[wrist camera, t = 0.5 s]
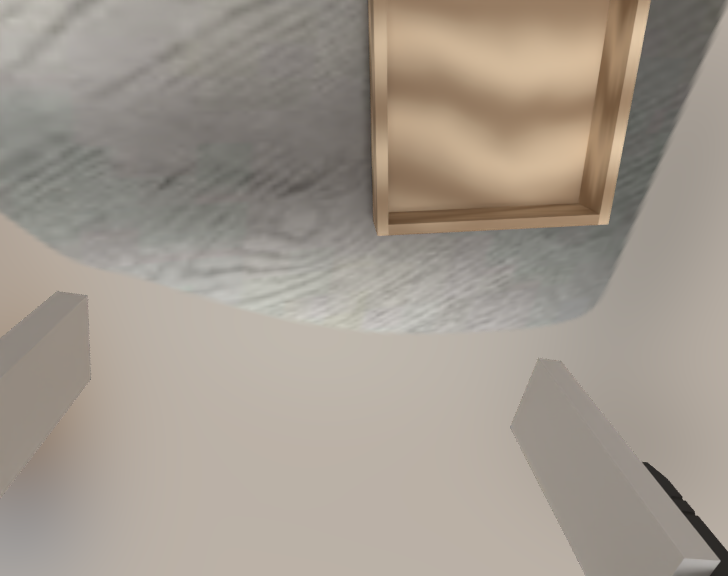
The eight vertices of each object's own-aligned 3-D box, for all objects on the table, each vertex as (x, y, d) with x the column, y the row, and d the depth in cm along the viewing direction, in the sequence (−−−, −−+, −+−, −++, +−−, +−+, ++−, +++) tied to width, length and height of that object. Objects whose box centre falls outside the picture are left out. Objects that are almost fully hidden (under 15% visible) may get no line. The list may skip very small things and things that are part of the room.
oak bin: (367, -37, 32) (372, -51, 28) (623, -42, 32) (661, -56, 29) (373, 220, 39) (377, 235, 35) (582, 210, 40) (608, 224, 36)
